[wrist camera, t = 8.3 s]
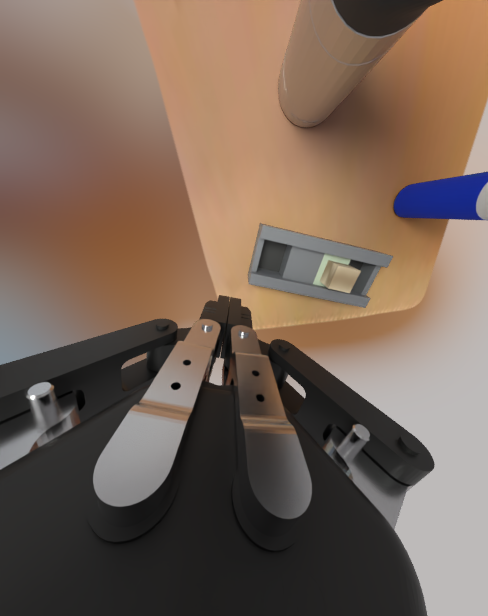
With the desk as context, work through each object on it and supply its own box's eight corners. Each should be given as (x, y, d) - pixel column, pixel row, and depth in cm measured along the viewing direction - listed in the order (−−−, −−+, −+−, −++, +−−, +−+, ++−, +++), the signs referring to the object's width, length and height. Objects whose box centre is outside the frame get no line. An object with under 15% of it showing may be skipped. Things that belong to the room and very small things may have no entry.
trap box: (259, 223, 36) (263, 225, 31) (373, 250, 38) (393, 256, 33) (247, 275, 40) (248, 283, 35) (350, 296, 43) (365, 307, 38)
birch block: (328, 260, 35) (338, 265, 31) (348, 265, 35) (361, 271, 32) (319, 280, 37) (328, 288, 33) (339, 285, 37) (349, 293, 34)
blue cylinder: (426, 203, 35) (543, 197, 21) (398, 223, 36) (491, 230, 23) (415, 176, 33) (536, 152, 20) (386, 199, 34) (480, 191, 21)
